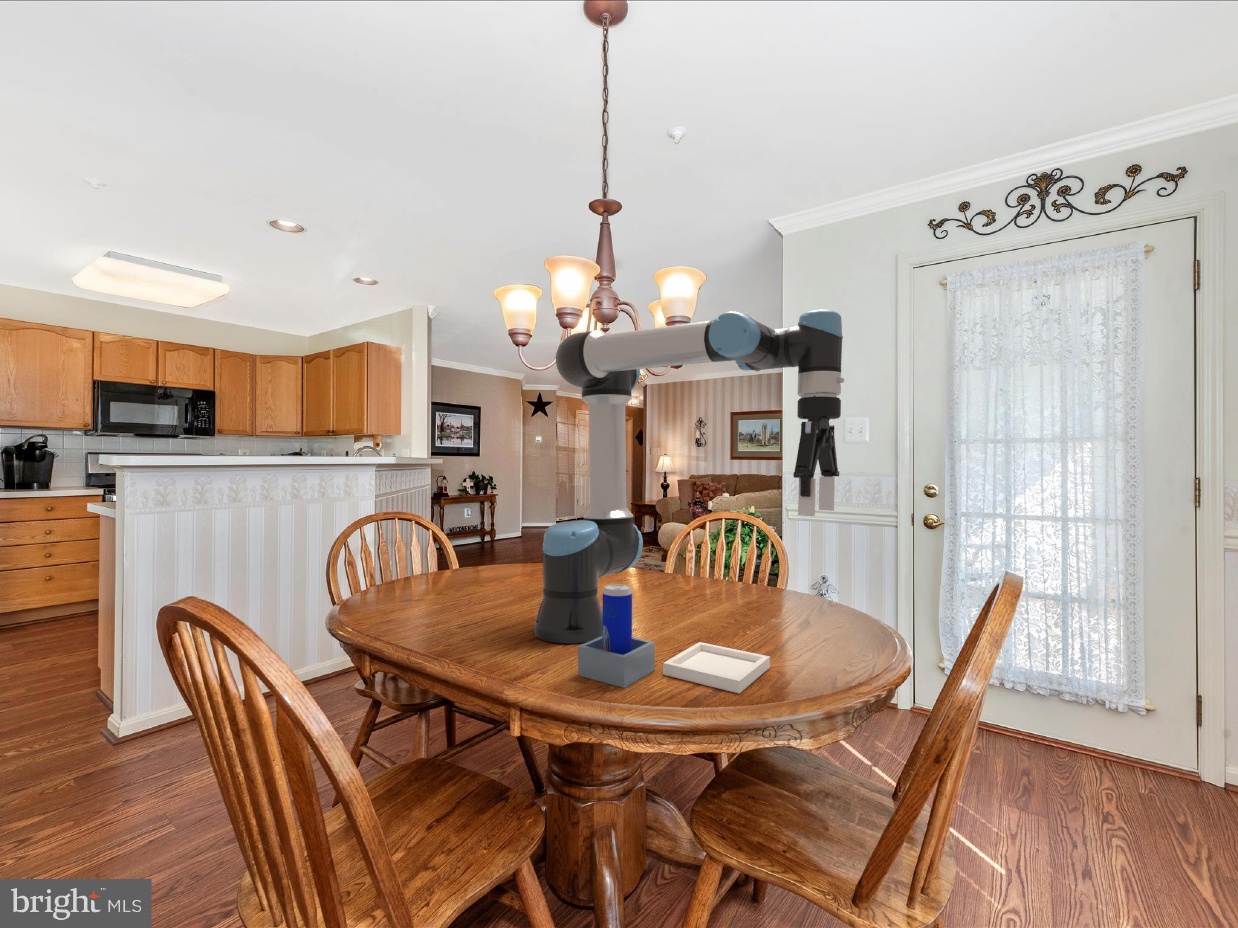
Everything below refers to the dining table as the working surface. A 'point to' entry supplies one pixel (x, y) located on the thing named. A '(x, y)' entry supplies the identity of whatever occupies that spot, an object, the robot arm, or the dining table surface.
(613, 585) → the beverage can
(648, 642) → the holder sleeve
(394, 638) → the dining table surface
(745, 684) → the tray
